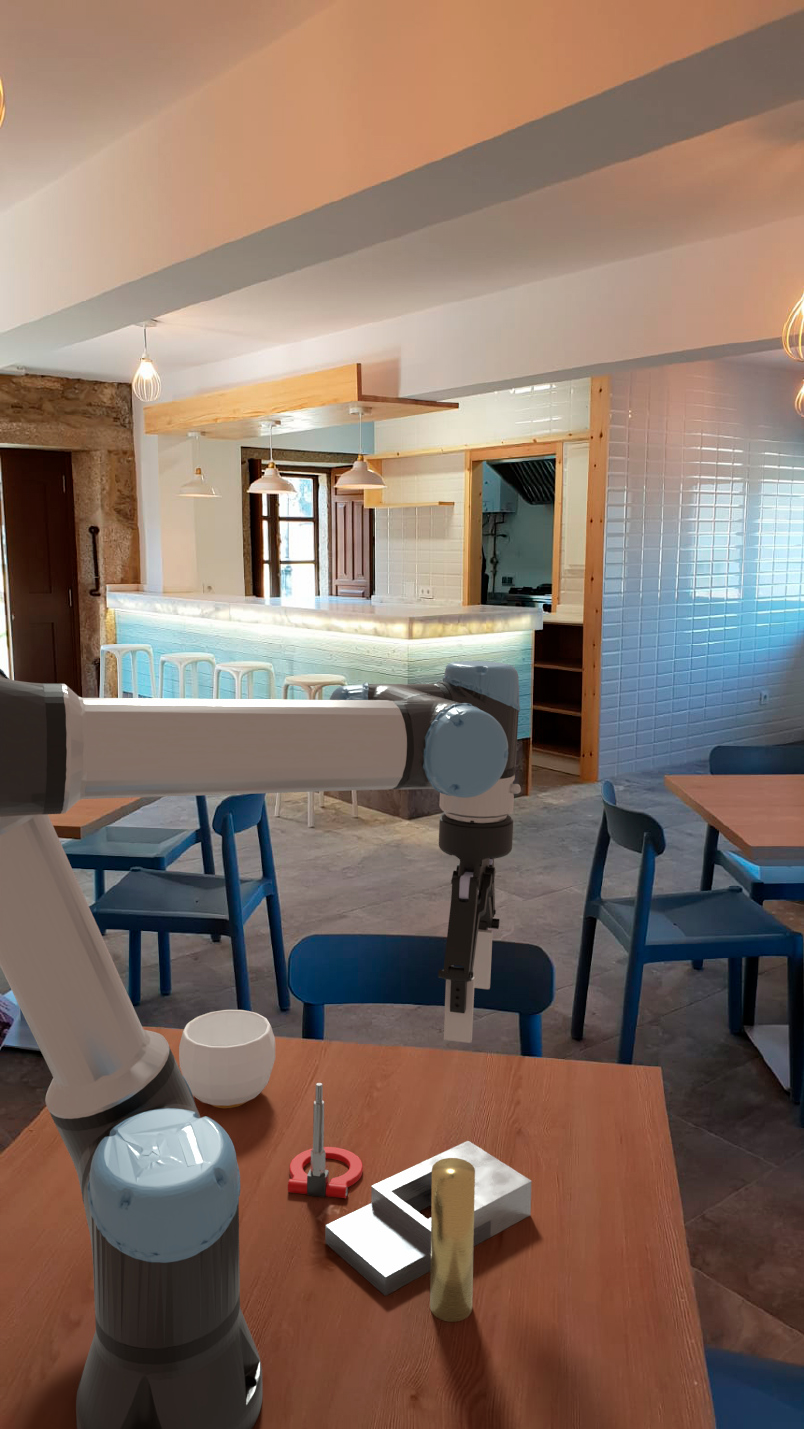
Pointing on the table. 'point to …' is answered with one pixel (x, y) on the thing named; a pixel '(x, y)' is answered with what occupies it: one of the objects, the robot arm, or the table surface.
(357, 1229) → the square hole base
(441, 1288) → the pin
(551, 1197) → the table surface
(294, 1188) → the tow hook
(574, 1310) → the table surface
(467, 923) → the robot arm
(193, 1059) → the cup
